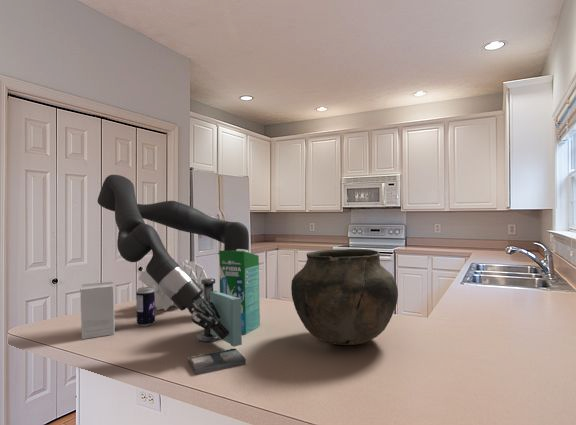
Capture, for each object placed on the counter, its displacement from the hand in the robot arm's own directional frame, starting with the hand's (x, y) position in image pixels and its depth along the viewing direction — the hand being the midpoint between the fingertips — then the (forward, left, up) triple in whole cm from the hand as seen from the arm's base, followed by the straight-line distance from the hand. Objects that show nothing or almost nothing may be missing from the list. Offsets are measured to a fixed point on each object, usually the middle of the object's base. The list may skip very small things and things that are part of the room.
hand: (226, 336), depth 95 cm
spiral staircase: (+2, -59, -4) cm, 59 cm away
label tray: (+4, +6, -4) cm, 8 cm away
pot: (-31, +9, -4) cm, 32 cm away
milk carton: (-10, -17, -4) cm, 20 cm away
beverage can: (+16, -37, -4) cm, 41 cm away
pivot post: (+1, -13, -4) cm, 14 cm away
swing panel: (-1, -4, -2) cm, 5 cm away
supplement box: (+30, -35, -4) cm, 47 cm away
